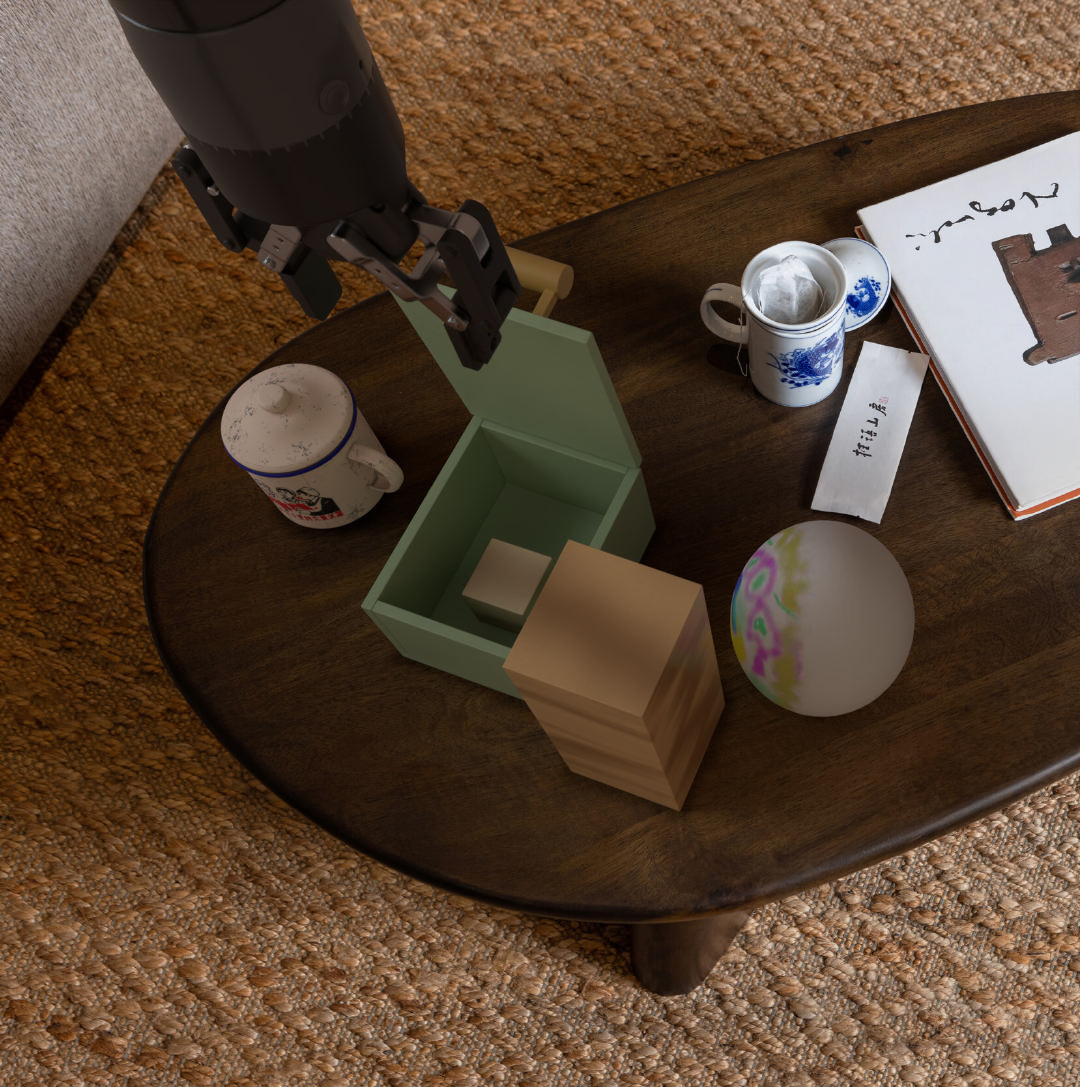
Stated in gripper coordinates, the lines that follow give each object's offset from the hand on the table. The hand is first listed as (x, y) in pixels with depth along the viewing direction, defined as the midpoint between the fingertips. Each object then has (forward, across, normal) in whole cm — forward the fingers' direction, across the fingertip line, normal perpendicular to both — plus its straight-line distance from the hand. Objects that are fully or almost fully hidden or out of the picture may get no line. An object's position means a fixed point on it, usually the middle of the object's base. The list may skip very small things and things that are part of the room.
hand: (403, 330), depth 58 cm
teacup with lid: (+31, +16, -2) cm, 35 cm away
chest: (+31, 0, +1) cm, 31 cm away
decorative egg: (+31, -22, -2) cm, 38 cm away
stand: (+30, -12, +8) cm, 34 cm away
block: (+30, 0, +2) cm, 30 cm away
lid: (+13, 0, -6) cm, 15 cm away
